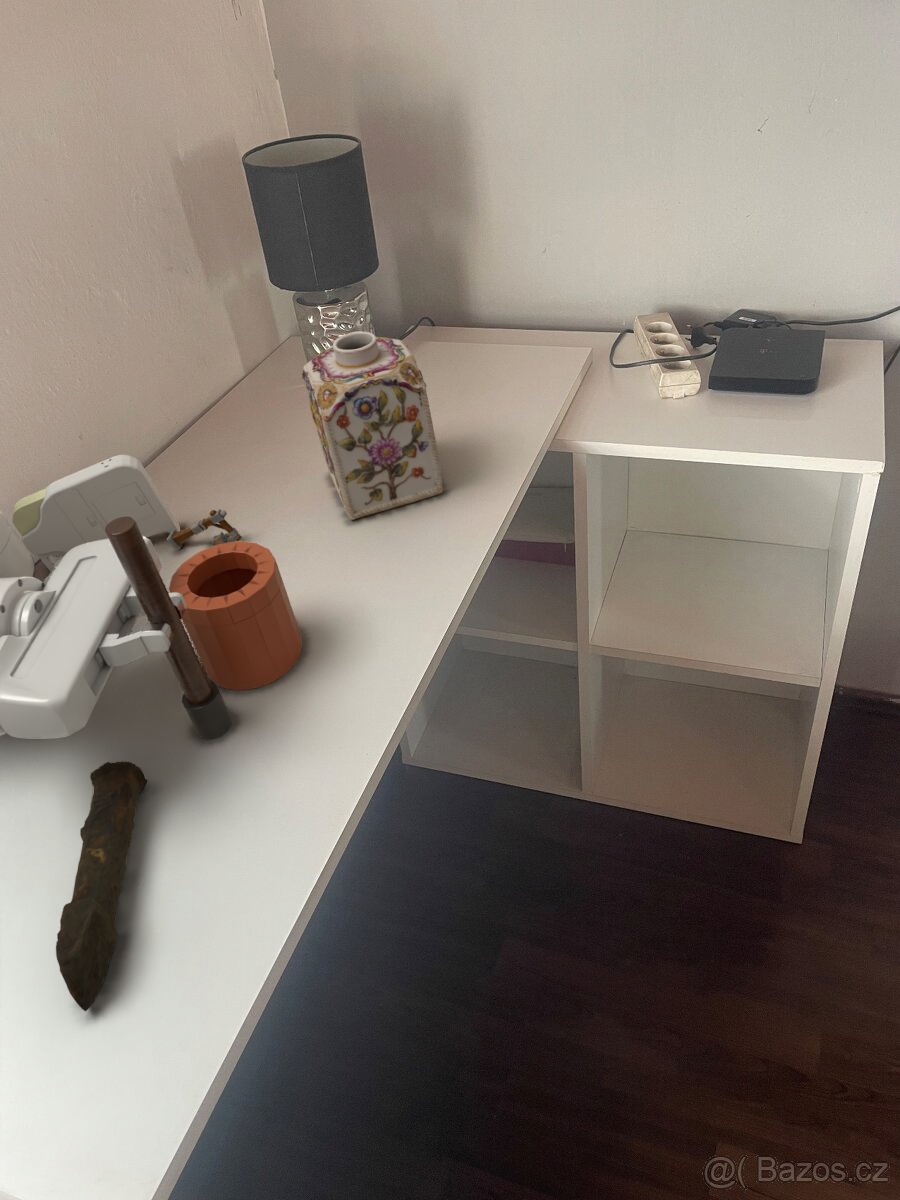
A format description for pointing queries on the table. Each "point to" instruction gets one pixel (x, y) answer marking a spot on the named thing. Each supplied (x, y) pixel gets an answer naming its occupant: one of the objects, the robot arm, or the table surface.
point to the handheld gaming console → (90, 508)
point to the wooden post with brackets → (203, 525)
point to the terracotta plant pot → (238, 614)
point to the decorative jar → (373, 423)
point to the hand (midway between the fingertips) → (176, 621)
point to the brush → (155, 600)
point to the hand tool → (98, 880)
